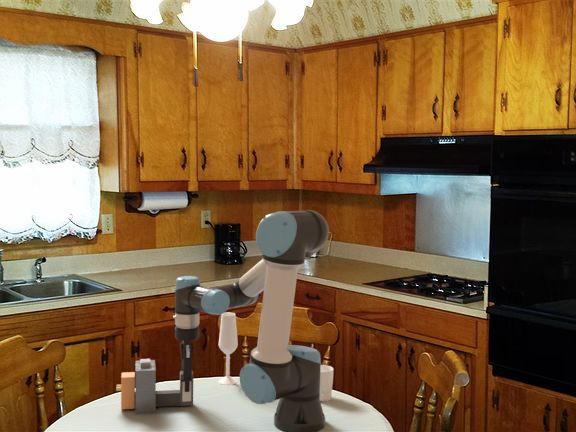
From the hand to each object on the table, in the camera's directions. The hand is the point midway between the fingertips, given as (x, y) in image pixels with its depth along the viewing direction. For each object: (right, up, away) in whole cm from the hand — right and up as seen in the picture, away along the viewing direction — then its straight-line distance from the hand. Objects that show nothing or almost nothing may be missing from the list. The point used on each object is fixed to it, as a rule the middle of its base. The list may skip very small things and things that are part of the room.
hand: (186, 398), depth 229 cm
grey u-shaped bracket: (-12, -2, -3) cm, 13 cm away
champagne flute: (+11, 0, +25) cm, 27 cm away
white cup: (+43, -2, +9) cm, 44 cm away
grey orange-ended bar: (-10, -2, -2) cm, 10 cm away
